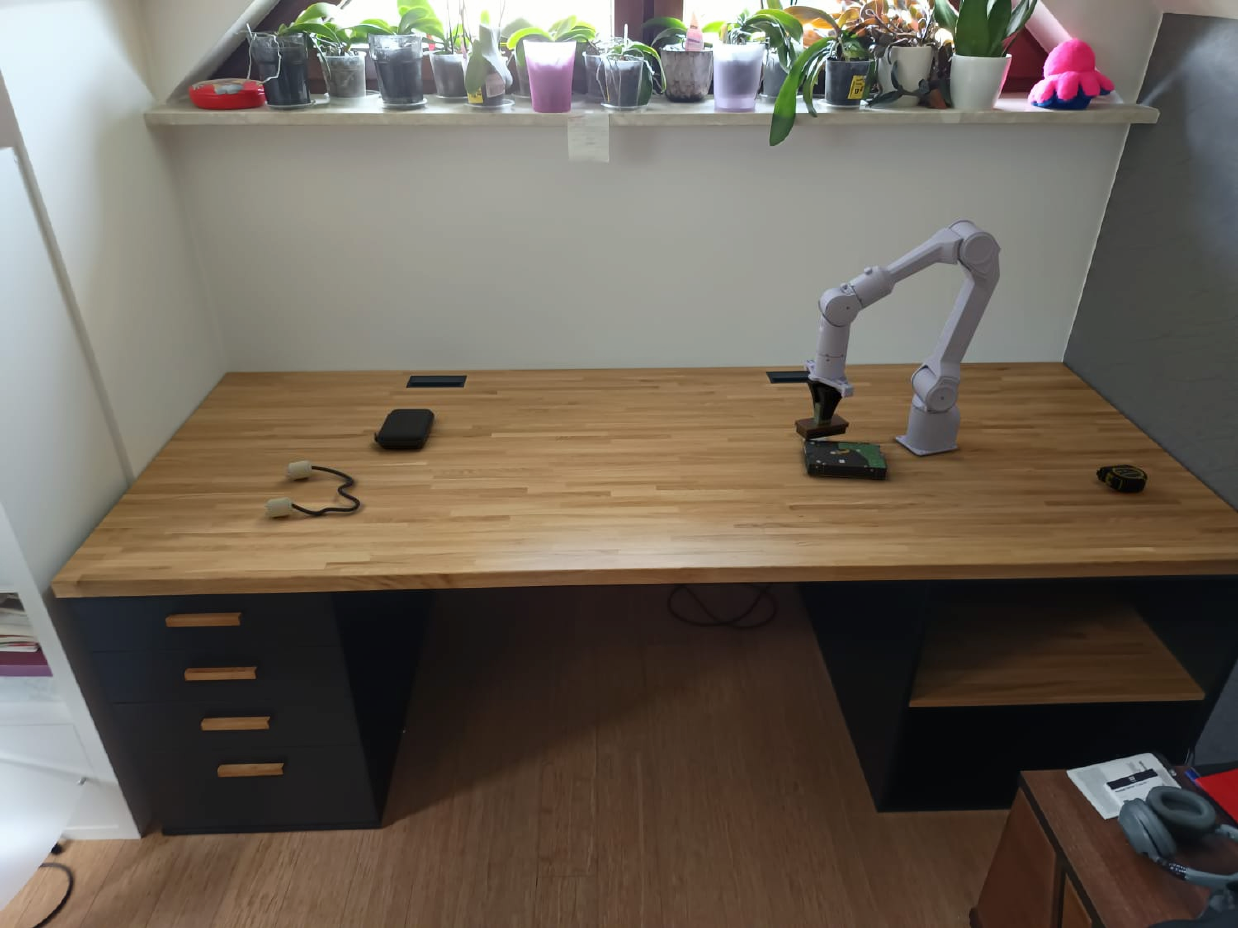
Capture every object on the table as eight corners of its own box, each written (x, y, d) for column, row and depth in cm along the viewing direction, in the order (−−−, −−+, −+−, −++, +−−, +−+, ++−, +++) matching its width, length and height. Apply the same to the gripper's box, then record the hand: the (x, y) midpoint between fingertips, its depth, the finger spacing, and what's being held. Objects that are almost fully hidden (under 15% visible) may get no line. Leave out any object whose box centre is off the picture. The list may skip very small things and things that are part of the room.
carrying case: (386, 418, 185) (370, 451, 172) (384, 405, 183) (368, 437, 170) (436, 418, 185) (424, 451, 172) (435, 405, 183) (423, 437, 171)
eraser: (829, 441, 175) (828, 445, 176) (824, 434, 178) (824, 439, 178) (807, 442, 175) (806, 446, 175) (803, 435, 177) (802, 439, 178)
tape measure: (1125, 477, 165) (1131, 460, 163) (1151, 496, 159) (1157, 478, 157) (1093, 480, 164) (1098, 463, 162) (1118, 499, 158) (1123, 481, 156)
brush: (834, 424, 178) (839, 395, 174) (847, 434, 174) (852, 404, 171) (793, 431, 175) (797, 402, 171) (805, 441, 171) (809, 411, 168)
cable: (372, 471, 165) (370, 455, 163) (357, 517, 151) (354, 500, 149) (288, 473, 164) (285, 457, 162) (264, 521, 149) (260, 503, 148)
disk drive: (806, 477, 164) (887, 480, 163) (808, 464, 163) (889, 467, 162) (802, 451, 174) (878, 454, 172) (803, 438, 172) (880, 441, 171)
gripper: (793, 341, 171) (786, 404, 177) (834, 368, 159) (825, 435, 165) (824, 337, 173) (816, 399, 179) (867, 363, 161) (856, 429, 167)
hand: (822, 416), depth 172 cm, fingers closed on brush
